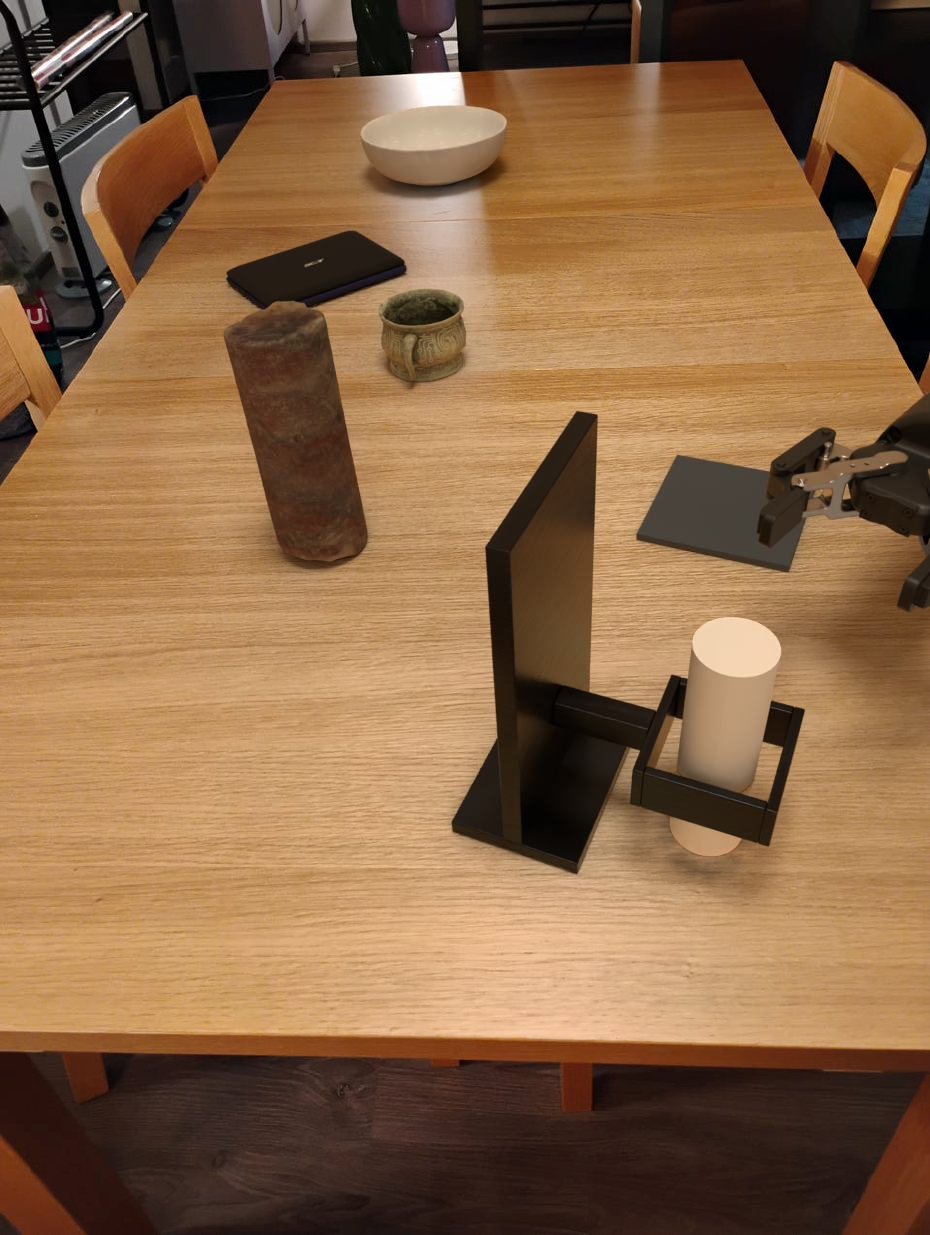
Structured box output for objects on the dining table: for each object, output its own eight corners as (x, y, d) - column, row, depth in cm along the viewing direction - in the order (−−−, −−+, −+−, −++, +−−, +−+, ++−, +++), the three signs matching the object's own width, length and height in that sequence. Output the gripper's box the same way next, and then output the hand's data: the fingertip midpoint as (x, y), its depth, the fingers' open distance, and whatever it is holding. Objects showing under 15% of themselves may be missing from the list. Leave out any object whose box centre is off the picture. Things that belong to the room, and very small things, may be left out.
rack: (790, 770, 62) (868, 460, 46) (747, 932, 54) (823, 624, 39) (525, 695, 68) (515, 399, 53) (452, 831, 60) (415, 530, 45)
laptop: (419, 282, 118) (417, 265, 117) (258, 325, 113) (254, 308, 111) (369, 238, 129) (367, 223, 128) (220, 275, 123) (216, 260, 122)
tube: (736, 864, 57) (775, 685, 47) (662, 845, 59) (684, 666, 48) (748, 806, 60) (786, 626, 50) (677, 789, 61) (700, 610, 51)
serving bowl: (538, 166, 145) (537, 115, 140) (441, 213, 134) (437, 159, 129) (433, 143, 156) (429, 95, 151) (336, 184, 145) (328, 134, 140)
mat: (816, 485, 84) (817, 479, 83) (788, 572, 76) (789, 566, 75) (676, 460, 88) (677, 454, 87) (636, 539, 80) (636, 533, 79)
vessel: (454, 395, 98) (449, 336, 94) (369, 390, 100) (360, 332, 96) (479, 338, 107) (476, 282, 103) (401, 334, 109) (394, 279, 104)
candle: (292, 582, 79) (236, 351, 65) (265, 533, 84) (208, 308, 70) (381, 552, 81) (345, 322, 67) (350, 505, 86) (311, 282, 72)
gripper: (872, 351, 64) (730, 462, 56) (1106, 426, 57) (980, 566, 49) (848, 450, 69) (715, 564, 61) (1060, 530, 62) (940, 673, 54)
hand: (832, 565), depth 55 cm, fingers open, 8 cm apart
